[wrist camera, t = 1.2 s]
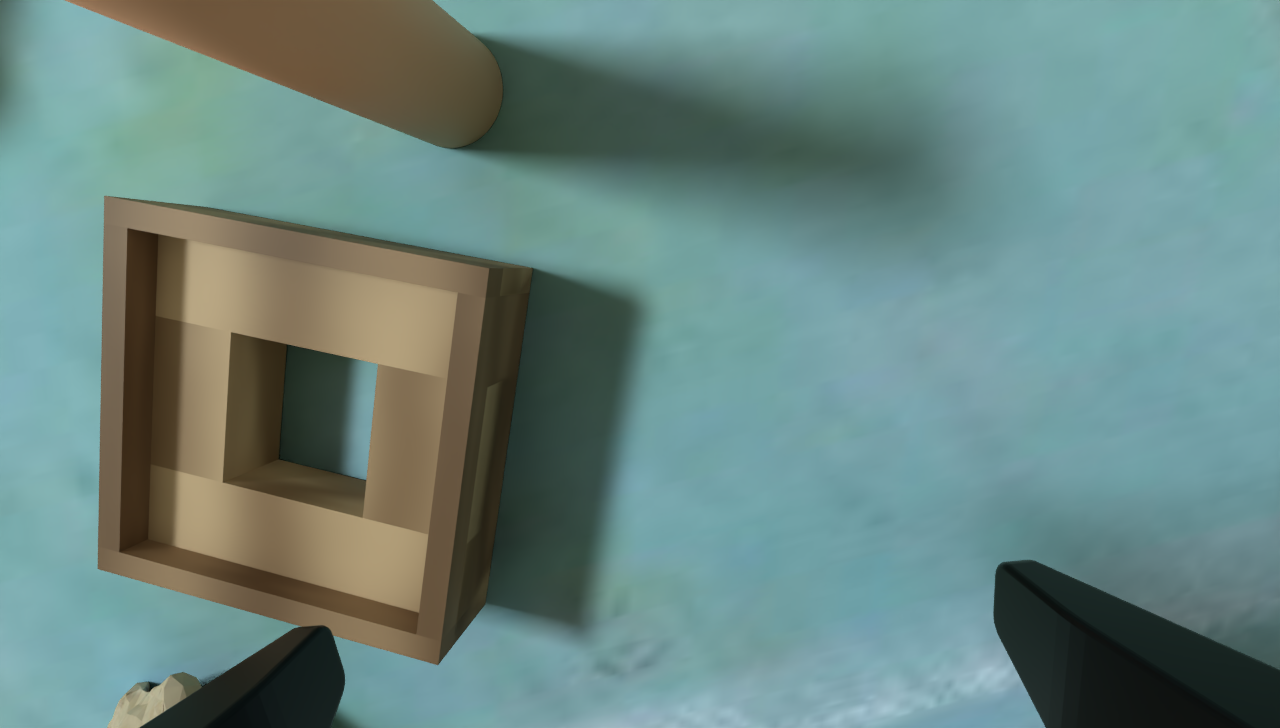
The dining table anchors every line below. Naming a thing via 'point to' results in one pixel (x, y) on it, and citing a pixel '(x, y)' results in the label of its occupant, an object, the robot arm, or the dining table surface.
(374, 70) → the peg
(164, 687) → the coral
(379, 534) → the tray box
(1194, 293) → the dining table surface
